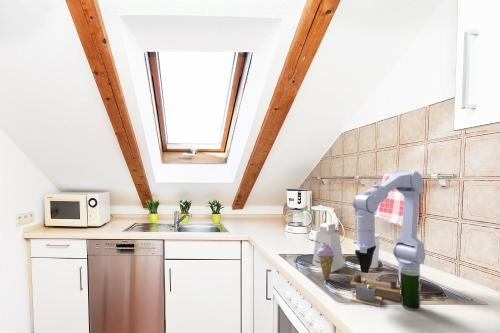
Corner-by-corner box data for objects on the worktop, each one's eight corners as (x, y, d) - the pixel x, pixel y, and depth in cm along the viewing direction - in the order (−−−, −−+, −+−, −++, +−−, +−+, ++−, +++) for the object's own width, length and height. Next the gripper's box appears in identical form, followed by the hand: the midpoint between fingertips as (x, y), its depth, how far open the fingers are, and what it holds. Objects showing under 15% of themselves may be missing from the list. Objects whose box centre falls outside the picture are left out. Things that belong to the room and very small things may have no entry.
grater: (312, 266, 130) (311, 223, 130) (324, 261, 137) (324, 221, 137) (332, 271, 122) (331, 226, 123) (344, 266, 129) (343, 223, 130)
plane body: (353, 285, 107) (353, 271, 107) (400, 293, 99) (399, 278, 100) (350, 291, 101) (350, 276, 101) (399, 301, 93) (399, 285, 93)
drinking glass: (367, 263, 133) (367, 232, 134) (382, 267, 128) (381, 234, 129) (361, 266, 128) (360, 234, 129) (376, 270, 124) (375, 236, 124)
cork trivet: (354, 293, 100) (354, 291, 100) (381, 298, 95) (381, 297, 96) (351, 300, 94) (351, 299, 94) (380, 306, 89) (380, 305, 89)
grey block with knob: (358, 294, 98) (357, 280, 98) (376, 297, 95) (376, 284, 95) (355, 298, 94) (355, 285, 94) (375, 302, 91) (374, 288, 91)
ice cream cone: (323, 283, 109) (323, 245, 109) (314, 278, 114) (313, 241, 115) (337, 280, 112) (336, 243, 112) (326, 275, 117) (326, 240, 118)
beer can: (404, 310, 87) (404, 272, 87) (398, 302, 92) (397, 266, 93) (423, 311, 86) (422, 273, 87) (415, 303, 92) (415, 267, 92)
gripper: (356, 225, 104) (357, 261, 103) (349, 232, 91) (350, 273, 91) (377, 226, 100) (377, 264, 100) (373, 234, 88) (373, 277, 87)
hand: (366, 269), depth 95 cm, fingers open, 7 cm apart
